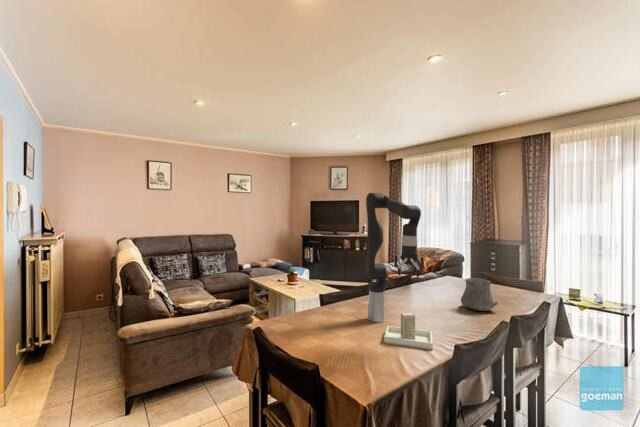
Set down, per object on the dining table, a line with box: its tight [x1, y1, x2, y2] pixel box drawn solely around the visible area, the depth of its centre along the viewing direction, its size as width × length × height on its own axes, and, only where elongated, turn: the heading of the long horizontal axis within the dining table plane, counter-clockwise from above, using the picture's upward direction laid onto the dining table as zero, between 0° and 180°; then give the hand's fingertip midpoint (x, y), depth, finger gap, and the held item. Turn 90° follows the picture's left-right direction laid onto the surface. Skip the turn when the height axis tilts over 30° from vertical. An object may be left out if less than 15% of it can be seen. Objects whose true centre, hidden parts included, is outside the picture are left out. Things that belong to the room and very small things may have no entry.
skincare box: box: [400, 312, 416, 340], centre depth 151 cm, size 6×4×12 cm
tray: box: [383, 325, 434, 351], centre depth 151 cm, size 22×16×3 cm
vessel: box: [460, 277, 499, 312], centre depth 206 cm, size 22×22×20 cm
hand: (408, 276), depth 155 cm, fingers open, 8 cm apart
